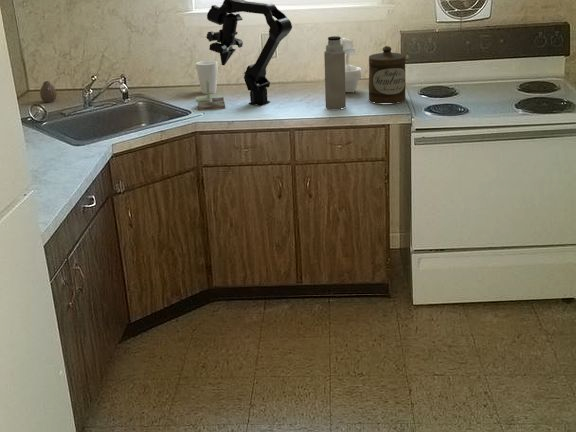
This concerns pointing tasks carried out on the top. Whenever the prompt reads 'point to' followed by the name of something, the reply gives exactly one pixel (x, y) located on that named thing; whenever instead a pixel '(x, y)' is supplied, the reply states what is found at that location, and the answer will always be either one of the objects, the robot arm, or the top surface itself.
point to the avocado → (48, 92)
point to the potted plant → (350, 67)
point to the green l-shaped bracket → (204, 98)
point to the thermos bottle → (334, 74)
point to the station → (212, 104)
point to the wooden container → (387, 77)
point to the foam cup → (207, 75)
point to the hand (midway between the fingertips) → (223, 65)
